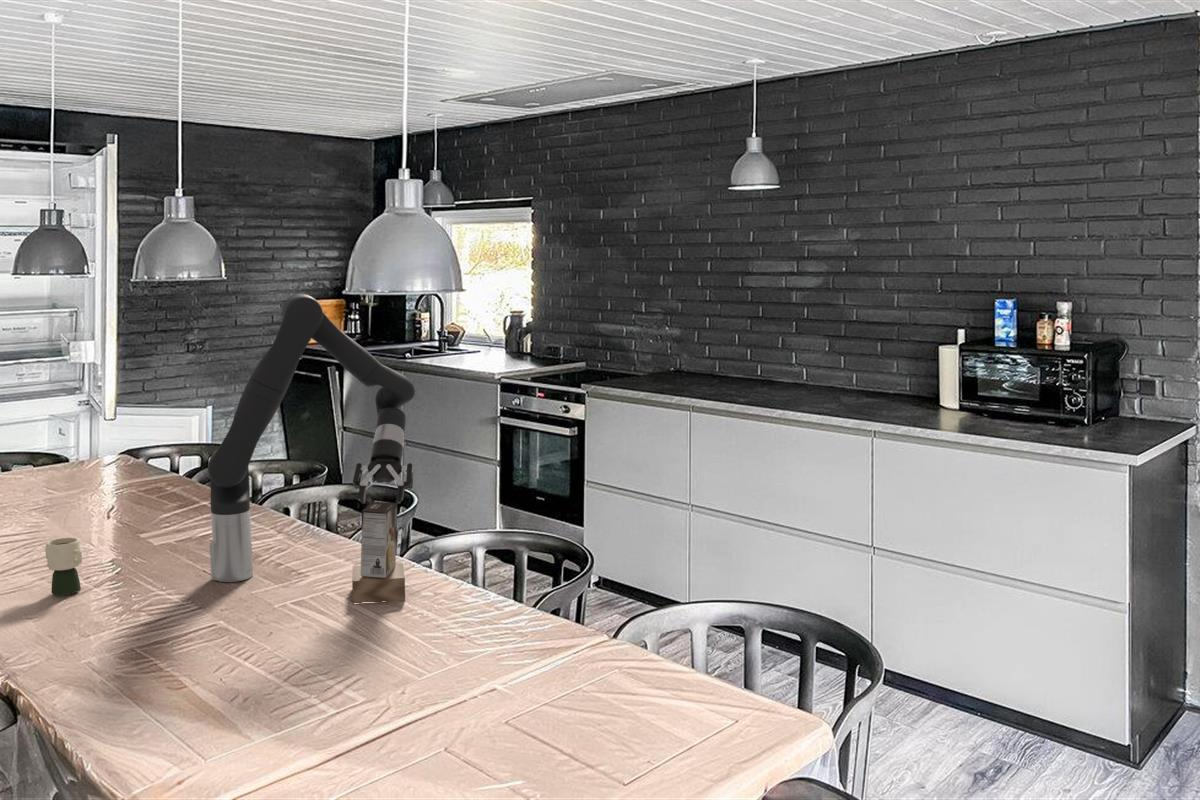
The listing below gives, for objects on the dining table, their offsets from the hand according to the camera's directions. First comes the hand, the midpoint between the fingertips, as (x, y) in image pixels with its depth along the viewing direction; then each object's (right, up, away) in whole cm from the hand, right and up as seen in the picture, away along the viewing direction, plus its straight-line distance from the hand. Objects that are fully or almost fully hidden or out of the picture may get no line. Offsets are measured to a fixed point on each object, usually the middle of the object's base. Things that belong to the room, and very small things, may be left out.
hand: (380, 501), depth 252 cm
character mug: (-75, -22, -2) cm, 78 cm away
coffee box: (0, -16, -3) cm, 17 cm away
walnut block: (0, -22, -2) cm, 22 cm away
